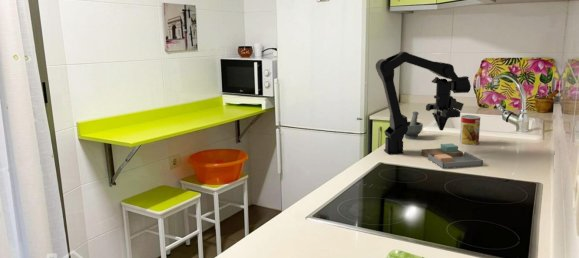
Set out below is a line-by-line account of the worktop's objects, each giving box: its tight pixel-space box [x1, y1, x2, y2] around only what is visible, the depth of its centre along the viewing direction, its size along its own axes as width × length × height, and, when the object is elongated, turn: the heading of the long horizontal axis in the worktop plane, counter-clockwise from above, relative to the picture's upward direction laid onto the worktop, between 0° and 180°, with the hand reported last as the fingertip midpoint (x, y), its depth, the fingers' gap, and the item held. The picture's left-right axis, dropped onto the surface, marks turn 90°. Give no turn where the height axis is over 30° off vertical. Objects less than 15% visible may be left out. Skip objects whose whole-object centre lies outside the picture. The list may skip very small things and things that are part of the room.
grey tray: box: [427, 151, 483, 169], centre depth 173 cm, size 16×12×2 cm
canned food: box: [459, 114, 481, 146], centre depth 200 cm, size 8×8×12 cm
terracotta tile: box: [434, 154, 453, 163], centre depth 174 cm, size 5×5×2 cm
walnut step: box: [420, 147, 464, 159], centre depth 183 cm, size 14×8×2 cm, turn 99°
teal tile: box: [440, 143, 459, 152], centre depth 184 cm, size 5×5×2 cm
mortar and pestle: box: [404, 110, 423, 140], centre depth 212 cm, size 11×9×12 cm
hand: (441, 130), depth 189 cm, fingers closed
